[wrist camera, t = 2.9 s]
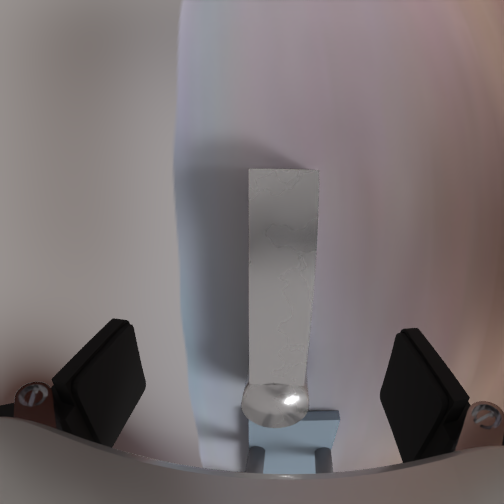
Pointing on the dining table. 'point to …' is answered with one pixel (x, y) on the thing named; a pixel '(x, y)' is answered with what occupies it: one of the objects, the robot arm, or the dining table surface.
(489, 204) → the dining table surface
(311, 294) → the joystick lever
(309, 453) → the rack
